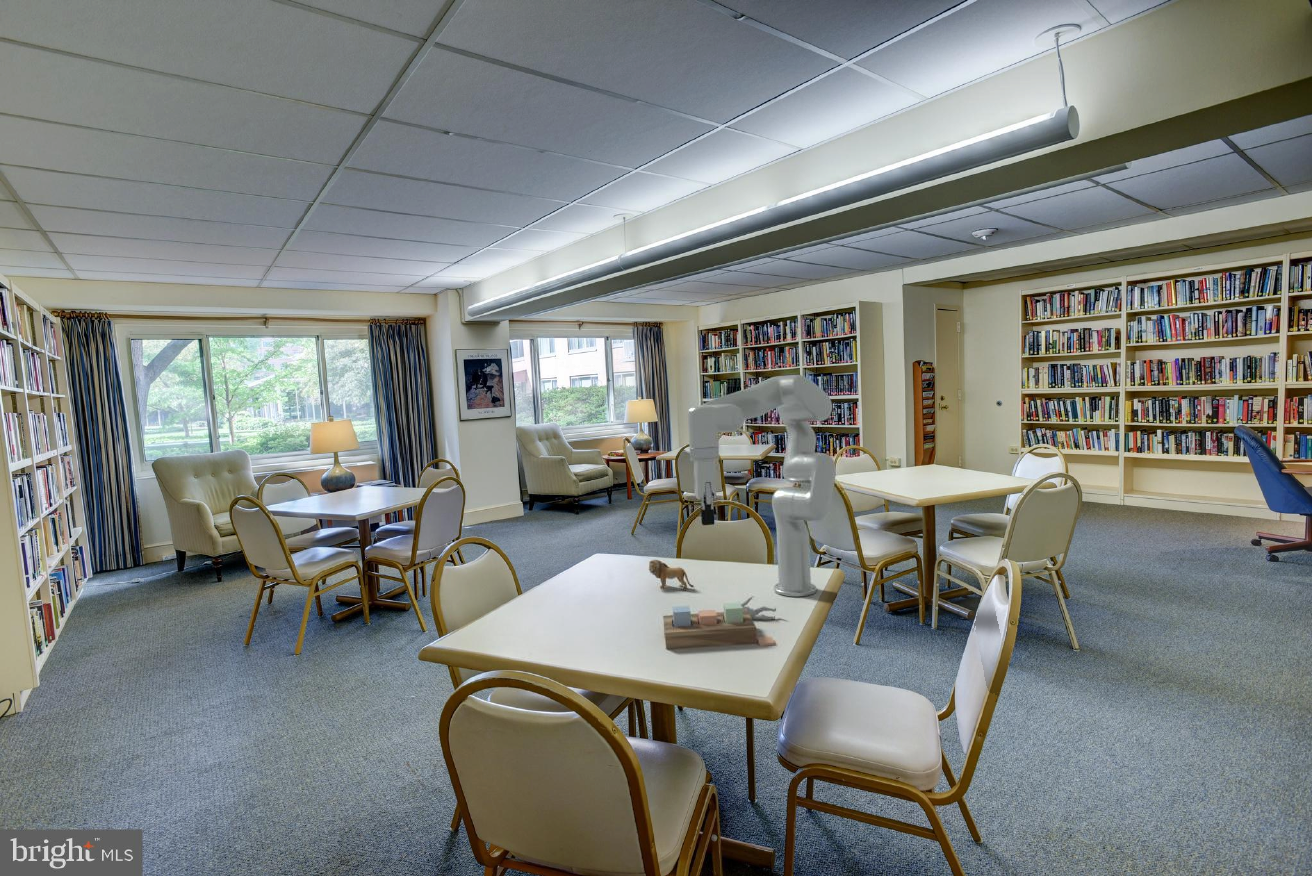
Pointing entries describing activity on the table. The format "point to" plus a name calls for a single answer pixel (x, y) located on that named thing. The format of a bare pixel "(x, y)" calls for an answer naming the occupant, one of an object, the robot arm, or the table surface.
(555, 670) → the table surface
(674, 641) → the board
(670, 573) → the lion figurine
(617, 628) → the table surface
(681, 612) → the light blue block
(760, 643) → the tile
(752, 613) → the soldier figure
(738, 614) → the mint green block
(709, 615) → the salmon pink rectangular block
